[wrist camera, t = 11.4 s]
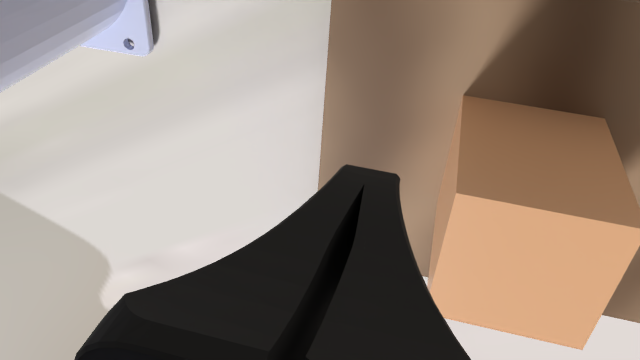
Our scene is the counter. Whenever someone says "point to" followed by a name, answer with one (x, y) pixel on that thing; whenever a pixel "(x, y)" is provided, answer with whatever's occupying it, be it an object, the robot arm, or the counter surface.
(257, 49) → the counter surface
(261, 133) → the counter surface
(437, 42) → the post board
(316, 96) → the counter surface
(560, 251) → the tan rectangular block
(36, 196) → the counter surface
